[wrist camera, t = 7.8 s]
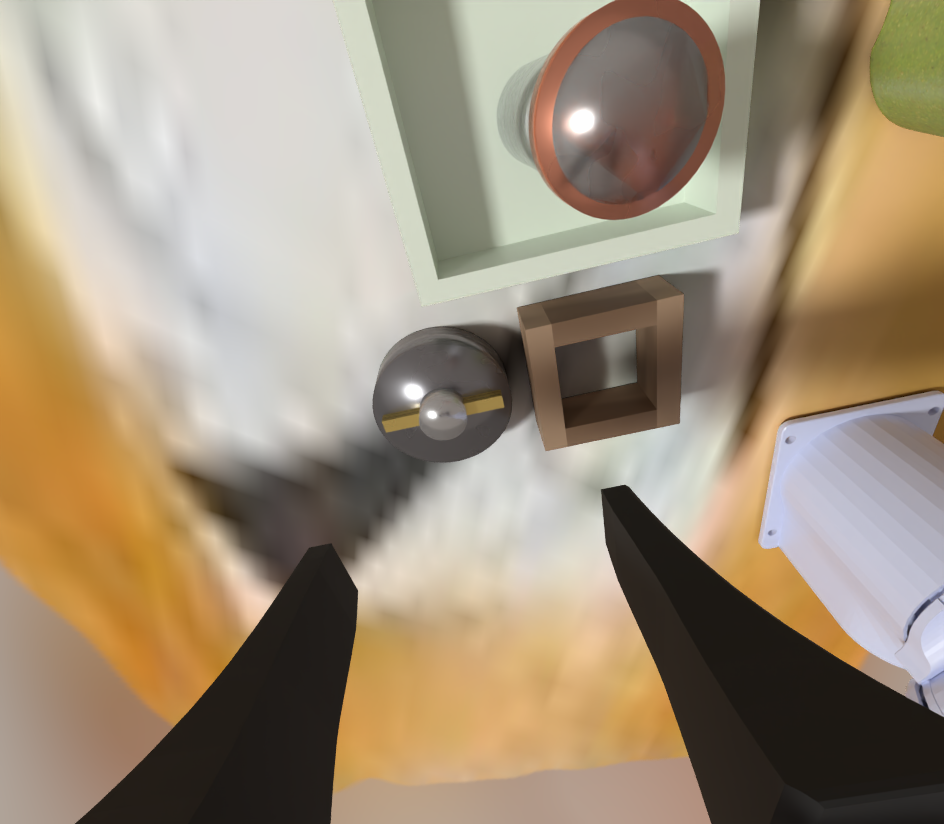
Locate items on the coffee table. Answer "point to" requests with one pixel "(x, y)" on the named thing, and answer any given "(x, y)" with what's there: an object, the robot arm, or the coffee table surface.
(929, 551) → the robot arm
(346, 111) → the coffee table surface
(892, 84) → the plant pot
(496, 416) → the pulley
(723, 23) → the tray
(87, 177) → the coffee table surface
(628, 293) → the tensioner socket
